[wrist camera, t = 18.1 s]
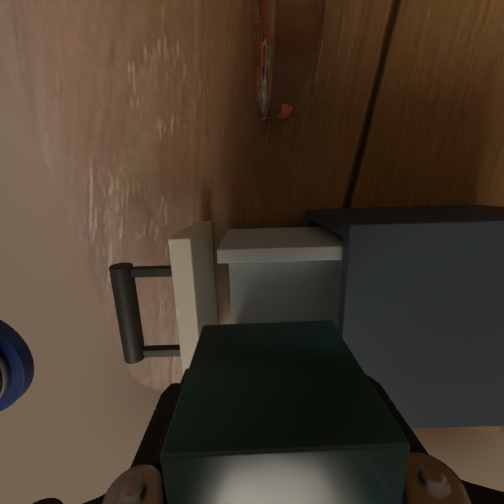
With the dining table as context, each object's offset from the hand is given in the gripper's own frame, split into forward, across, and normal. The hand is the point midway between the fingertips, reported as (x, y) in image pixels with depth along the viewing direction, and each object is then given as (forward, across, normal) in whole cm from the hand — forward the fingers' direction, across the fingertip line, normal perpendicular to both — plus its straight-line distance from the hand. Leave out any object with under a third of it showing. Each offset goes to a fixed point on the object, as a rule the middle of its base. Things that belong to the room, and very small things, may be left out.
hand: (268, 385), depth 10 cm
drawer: (+12, +1, +1) cm, 13 cm away
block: (0, 0, 0) cm, 0 cm away
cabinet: (+13, -12, +1) cm, 18 cm away
